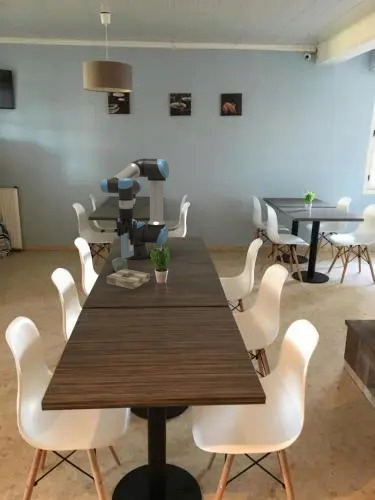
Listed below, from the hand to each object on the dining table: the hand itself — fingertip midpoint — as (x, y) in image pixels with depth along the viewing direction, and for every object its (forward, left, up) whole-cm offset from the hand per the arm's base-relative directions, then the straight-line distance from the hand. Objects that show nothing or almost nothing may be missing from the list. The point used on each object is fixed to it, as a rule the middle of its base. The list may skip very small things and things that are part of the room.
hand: (127, 249), depth 229 cm
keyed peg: (0, 0, -4) cm, 4 cm away
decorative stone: (-13, -16, -19) cm, 28 cm away
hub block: (0, 0, -19) cm, 19 cm away
